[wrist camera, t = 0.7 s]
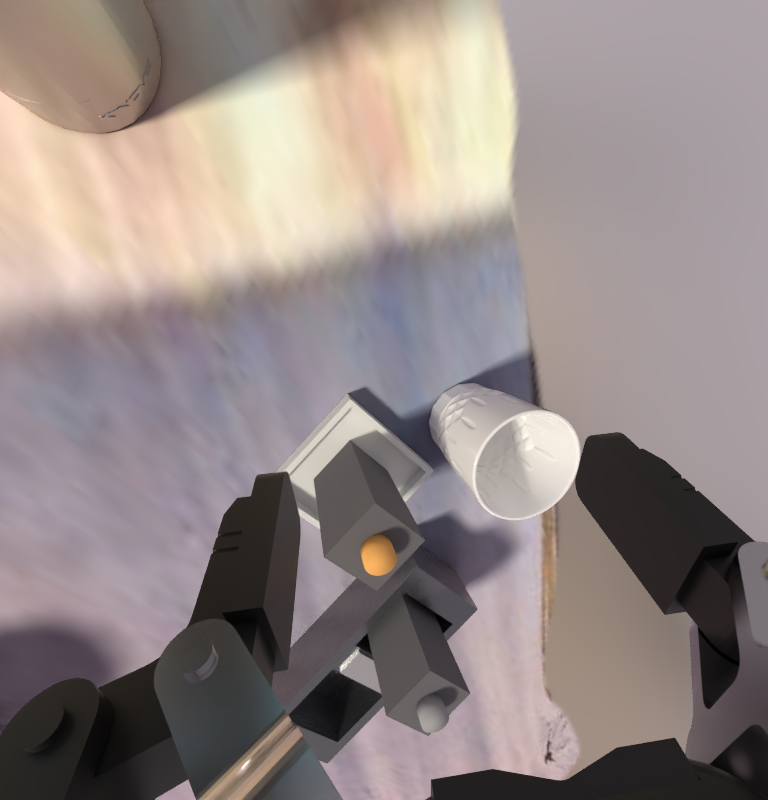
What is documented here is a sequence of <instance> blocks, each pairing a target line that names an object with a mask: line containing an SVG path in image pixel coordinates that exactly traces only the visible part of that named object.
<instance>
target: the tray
mask: <svg viewBox="0 0 768 800" xmlns="http://www.w3.org/2000/svg"><path fill="white" fill-rule="evenodd" d="M349 440H350V441H352V442H353V443H354V444H355V445H357V446H358V447H359V448H360V449H362V450H363V451H364V452H365V453H366V454H368V455H369V456H370V457H371V458H373V459H374V460H375V461H376V462H378V463H379V464H380V465H381V466H383V467H384V468H385V469H386V470H387V471H388V473H389V474H390V476H391V478H392V480H393V482H394V484H395V485H396V487H397V489H398V491H399V493H400V495H401V496H402V498H403V500H404V502H405V501H406V500H407V499H408V498H409V497H410V496H411V495H412V494H413V493H414V492H415V491H416V490H417V489H418V488H419V487H420V485H421V484H422V483H423V482H424V481H425V480H426V479H427V478H428V477H429V476H430V475H431V474H432V473H433V472H434V470H433V469H432V468H431V466H430V465H429V464H428V463H427V462H426V461H425V460H424V459H422V458H421V457H420V456H419V455H418V454H417V453H415V452H414V451H413V450H412V449H411V448H410V447H408V446H407V445H406V444H405V443H404V442H403V441H402V440H400V439H399V438H398V437H397V436H396V435H395V434H393V433H392V432H391V431H390V430H389V429H388V428H386V427H385V426H384V425H383V424H382V423H381V422H379V421H378V420H377V419H376V418H375V417H374V416H372V415H371V414H370V413H369V412H368V411H367V410H366V409H364V408H363V407H362V406H361V405H360V404H359V403H357V402H356V401H355V400H354V399H353V398H352V397H350V396H349V395H348V394H347V395H346V396H345V397H344V398H343V399H342V400H341V401H340V402H339V403H338V404H337V405H336V407H335V408H334V409H333V410H332V411H331V412H330V413H329V414H328V415H327V416H326V417H325V418H324V420H323V421H322V422H321V423H320V424H319V425H318V426H317V427H316V428H315V429H314V430H313V432H312V433H311V434H310V435H309V436H308V437H307V438H306V439H305V440H304V441H303V442H302V443H301V445H300V446H299V447H298V448H297V449H296V450H295V451H294V452H293V453H292V454H291V455H290V457H289V458H288V459H287V460H286V461H285V462H284V463H283V464H282V465H281V466H280V467H279V469H278V470H277V471H276V472H275V473H277V472H285V471H287V472H288V474H289V477H290V480H291V484H292V488H293V492H294V496H295V500H296V504H297V508H298V512H299V516H301V517H302V518H304V519H305V520H307V521H308V522H310V523H311V524H313V525H314V526H316V527H317V528H319V529H320V523H319V516H318V509H317V501H316V494H315V487H314V478H315V477H316V476H317V475H318V474H319V473H320V472H321V471H322V469H323V468H324V467H325V466H326V465H327V464H328V463H329V462H330V461H331V460H332V459H333V458H334V456H335V455H336V454H337V453H338V452H339V451H340V450H341V449H342V448H343V447H344V446H345V445H346V444H347V442H348V441H349Z"/></svg>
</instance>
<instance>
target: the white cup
mask: <svg viewBox="0 0 768 800" xmlns="http://www.w3.org/2000/svg"><path fill="white" fill-rule="evenodd" d="M429 426H430V431H431V435H432V439H433V440H434V442H435V443H436V444H437V445H438V446H439V448H440V449H441V450H442V452H443V454H444V456H445V458H446V459H447V461H448V462H449V463H450V465H451V466H452V468H453V469H454V470H455V472H456V473H457V474H458V475H459V477H460V478H461V479H462V481H463V482H464V483H465V484H466V486H467V487H468V488H469V489H470V491H471V492H472V493H473V495H474V496H475V497H476V499H477V500H478V501H479V502H480V504H481V505H482V506H483V507H484V508H485V509H486V510H487V511H488V512H489V513H491V514H492V515H494V516H496V517H499V518H502V519H506V520H523V519H528V518H531V517H534V516H537V515H539V514H541V513H543V512H545V511H546V510H548V509H549V508H551V507H552V506H553V505H555V504H556V503H557V502H558V501H559V500H560V499H561V498H562V497H563V496H564V494H565V493H566V492H567V490H568V489H569V487H570V486H571V484H572V482H573V480H574V478H575V476H576V474H577V471H578V467H579V463H580V443H579V439H578V436H577V433H576V431H575V430H574V428H573V426H572V425H571V424H570V423H569V422H568V421H567V420H566V419H565V418H564V417H562V416H560V415H559V414H557V413H554V412H552V411H549V410H546V409H544V408H541V407H539V406H536V405H534V404H531V403H529V402H526V401H524V400H521V399H519V398H516V397H514V396H511V395H509V394H506V393H503V392H500V391H498V390H492V389H488V388H485V387H483V386H481V385H478V384H476V383H468V384H458V385H456V386H454V387H453V388H451V389H449V390H447V391H446V392H444V393H443V394H442V395H441V396H440V398H439V399H438V400H437V402H436V403H435V404H434V406H433V408H432V412H431V416H430V420H429Z"/></svg>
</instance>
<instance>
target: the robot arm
mask: <svg viewBox="0 0 768 800" xmlns="http://www.w3.org/2000/svg"><path fill="white" fill-rule="evenodd" d="M160 72H161V55H160V46H159V41H158V37H157V34H156V30H155V27H154V24H153V21H152V19H151V17H150V15H149V13H148V11H147V9H146V7H145V4H144V2H143V0H0V91H1V92H3V93H4V94H6V95H7V96H9V97H10V98H12V99H13V100H15V101H16V102H18V103H19V104H21V105H22V106H24V107H25V108H27V109H28V110H30V111H31V112H33V113H34V114H36V115H38V116H39V117H41V118H42V119H44V120H45V121H48V122H50V123H52V124H55V125H57V126H60V127H62V128H64V129H68V130H73V131H77V132H82V133H106V132H111V131H115V130H119V129H121V128H123V127H125V126H127V125H129V124H131V123H133V122H134V121H135V120H137V119H138V118H139V117H140V116H141V115H142V114H143V113H144V112H145V111H146V110H147V108H148V107H149V105H150V104H151V102H152V100H153V99H154V97H155V94H156V91H157V88H158V85H159V82H160ZM575 484H576V490H577V493H578V496H579V498H580V500H581V501H582V503H583V504H584V505H585V507H586V508H587V509H588V511H589V512H590V513H591V515H592V516H593V518H594V519H595V520H596V522H597V523H598V524H599V526H600V527H601V529H602V530H603V531H604V533H605V534H606V535H607V537H608V538H609V539H610V541H611V542H612V544H613V545H614V546H615V548H616V549H617V550H618V552H619V553H620V554H621V555H622V557H623V559H624V560H625V561H626V563H627V564H628V565H629V567H630V568H631V569H632V571H633V572H634V574H635V575H636V576H637V578H638V579H639V580H640V582H641V583H642V584H643V586H644V587H645V589H646V590H647V591H648V593H649V594H650V595H651V597H652V598H653V599H654V601H655V602H656V604H657V605H658V606H659V608H660V609H661V610H662V612H663V613H664V614H665V615H666V614H673V613H680V612H687V613H688V614H689V616H690V617H691V618H692V619H693V621H692V623H691V625H690V628H689V636H690V656H691V675H692V691H693V692H692V693H693V720H692V725H691V729H690V732H689V735H688V739H687V744H686V753H685V754H684V752H683V751H682V749H681V747H680V745H679V744H678V742H677V740H676V739H675V738H671V739H665V740H659V741H653V742H647V743H642V744H636V745H630V746H624V747H619V748H616V749H614V750H613V751H611V752H610V753H608V754H606V755H605V756H603V757H602V758H600V759H599V760H597V761H595V762H594V763H592V764H591V765H589V766H588V767H586V768H585V769H583V770H582V771H580V772H578V773H577V774H575V775H574V776H572V777H571V778H569V779H567V780H562V781H559V780H552V779H546V778H540V777H535V776H529V775H523V774H518V773H512V772H506V771H500V770H495V769H491V770H485V771H479V772H473V773H468V774H462V775H456V776H450V777H444V778H439V779H433V780H431V797H429V798H428V799H426V800H768V543H767V542H755V541H754V540H753V539H752V538H750V537H749V536H748V535H747V534H746V533H745V532H744V531H743V530H741V529H740V528H739V527H738V526H737V525H736V524H735V523H733V521H731V520H730V519H729V518H728V517H727V516H726V515H725V514H724V513H722V512H721V511H720V510H719V509H718V508H717V507H716V506H715V505H714V504H712V503H711V502H710V501H709V500H708V499H707V498H706V497H705V496H704V495H702V494H701V493H700V492H699V491H696V490H695V487H693V486H692V485H691V484H690V483H689V482H688V481H687V480H686V479H682V478H681V475H680V474H679V473H678V472H677V471H676V470H675V469H673V468H672V467H671V466H670V465H669V464H668V463H667V462H666V461H664V460H663V459H661V458H659V457H657V456H655V455H653V454H652V453H650V452H648V451H646V450H644V449H639V448H638V447H637V446H636V445H635V444H634V443H633V442H631V440H630V439H628V438H627V437H626V436H625V435H624V434H622V433H618V432H616V433H608V434H600V435H591V436H589V437H588V438H587V439H586V441H585V445H584V448H583V452H582V456H581V459H580V463H579V467H578V471H577V474H576V479H575ZM299 545H300V517H299V512H298V508H297V504H296V500H295V496H294V492H293V488H292V484H291V480H290V477H289V474H288V472H287V471H285V472H277V473H269V474H260V475H257V476H256V479H255V482H254V486H253V490H252V494H251V496H250V497H242V498H237V499H236V500H235V501H234V503H233V504H232V505H231V507H230V508H229V509H228V510H227V512H226V513H225V514H224V516H223V519H222V522H221V525H220V528H219V532H218V538H216V541H215V544H214V548H213V554H211V557H210V560H209V563H208V567H207V570H206V573H205V576H204V579H203V583H202V586H201V589H200V592H199V595H198V598H197V602H196V605H195V608H194V611H193V614H192V617H191V620H190V622H189V624H188V626H187V628H186V629H184V630H183V631H182V632H180V633H179V634H178V635H177V636H176V637H175V638H174V639H173V640H172V641H171V642H170V643H169V644H168V646H167V647H166V648H165V650H164V651H163V653H162V655H161V657H159V658H158V659H156V660H155V661H153V662H152V663H150V664H148V665H146V666H144V667H142V668H140V669H138V670H136V671H134V672H132V673H129V674H127V675H125V676H123V677H121V678H119V679H117V680H114V681H112V682H110V683H108V684H106V685H104V686H102V687H100V688H97V687H96V686H95V685H94V684H93V683H92V682H90V681H89V680H86V679H80V678H76V679H69V680H65V681H62V682H60V683H57V684H55V685H53V686H51V687H49V688H47V689H46V690H44V691H43V692H41V693H40V694H38V695H37V696H35V697H34V698H33V699H32V700H31V701H29V702H28V703H27V704H26V705H25V706H24V707H23V708H22V709H21V710H20V711H19V712H18V713H17V714H16V715H15V716H14V717H13V719H12V720H11V721H10V722H9V724H8V725H7V726H6V728H5V729H4V730H3V732H2V734H1V735H0V800H155V798H157V797H159V796H160V795H162V794H164V793H165V792H167V791H169V790H171V789H172V788H174V787H176V786H177V785H179V784H181V783H183V782H184V781H186V780H188V779H189V782H190V785H191V787H192V790H193V793H194V795H195V798H196V800H343V799H342V798H341V796H340V794H339V793H338V791H337V789H336V788H335V786H334V785H333V783H332V781H331V780H330V778H329V776H328V775H327V773H326V772H325V770H324V768H323V767H322V765H321V764H320V762H319V760H318V759H317V757H316V755H315V754H314V752H313V751H312V749H311V747H310V746H309V744H308V742H307V741H306V739H305V738H304V736H303V735H302V733H301V732H300V730H299V729H298V727H297V726H296V725H295V723H293V722H292V720H291V719H290V717H289V716H288V714H287V713H286V711H285V709H284V708H283V706H282V705H281V703H280V701H279V700H278V698H277V696H276V695H275V693H274V691H273V690H272V680H273V672H278V671H285V670H288V666H289V655H290V644H291V633H292V622H293V611H294V600H295V589H296V578H297V567H298V556H299Z"/></svg>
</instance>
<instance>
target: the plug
mask: <svg viewBox="0 0 768 800" xmlns="http://www.w3.org/2000/svg"><path fill="white" fill-rule="evenodd" d="M314 487H315V494H316V501H317V509H318V516H319V523H320V531H321V538H322V546H323V553H324V557H325V558H326V559H328V560H329V561H331V562H333V563H334V564H336V565H337V566H339V567H340V568H342V569H344V570H345V571H347V572H348V573H350V574H351V575H353V576H355V577H356V578H358V579H359V580H361V581H362V582H364V583H366V584H367V585H369V586H370V587H372V588H373V589H375V590H378V589H379V588H380V587H381V586H382V585H383V584H384V583H385V582H386V581H387V580H388V579H389V578H390V577H391V576H392V575H393V574H394V573H395V572H396V570H397V569H398V568H399V567H400V566H401V565H402V564H403V563H404V562H405V561H406V560H407V559H408V558H409V557H410V556H411V555H412V554H413V553H414V552H415V551H416V550H417V549H418V547H419V546H420V545H421V544H422V543H423V542H424V541H425V539H424V537H423V535H422V533H421V531H420V530H419V528H418V526H417V524H416V522H415V520H414V519H413V517H412V515H411V513H410V511H409V509H408V508H407V506H406V504H405V502H404V500H403V498H402V496H401V495H400V493H399V491H398V489H397V487H396V485H395V484H394V482H393V480H392V478H391V476H390V474H389V473H388V471H387V470H386V469H385V468H384V467H383V466H381V465H380V464H379V463H378V462H376V461H375V460H374V459H373V458H371V457H370V456H369V455H368V454H366V453H365V452H364V451H363V450H362V449H360V448H359V447H358V446H357V445H355V444H354V443H353V442H352V441H350V440H349V441H348V442H347V444H346V445H345V446H344V447H343V448H342V449H341V450H340V451H339V452H338V453H337V454H336V455H335V456H334V458H333V459H332V460H331V461H330V462H329V463H328V464H327V465H326V466H325V467H324V468H323V469H322V471H321V472H320V473H319V474H318V475H317V476H316V477H315V478H314Z"/></svg>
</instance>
